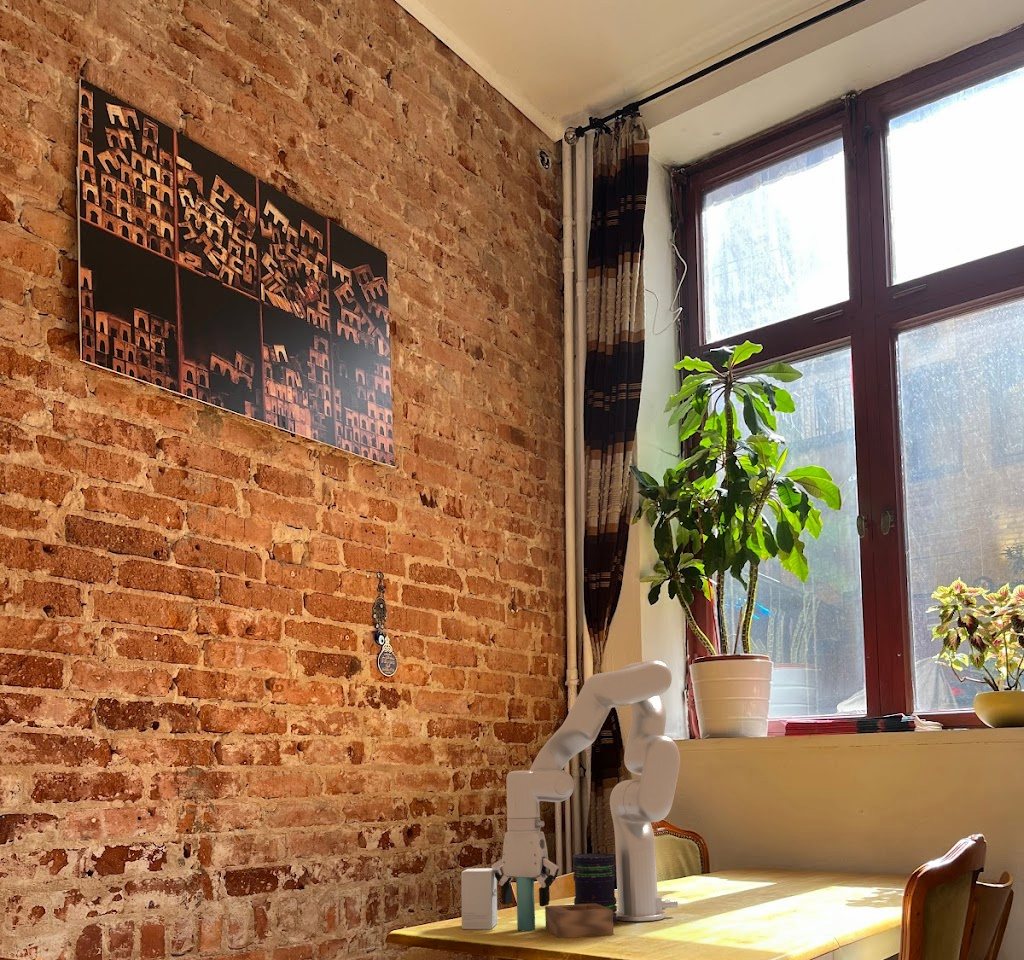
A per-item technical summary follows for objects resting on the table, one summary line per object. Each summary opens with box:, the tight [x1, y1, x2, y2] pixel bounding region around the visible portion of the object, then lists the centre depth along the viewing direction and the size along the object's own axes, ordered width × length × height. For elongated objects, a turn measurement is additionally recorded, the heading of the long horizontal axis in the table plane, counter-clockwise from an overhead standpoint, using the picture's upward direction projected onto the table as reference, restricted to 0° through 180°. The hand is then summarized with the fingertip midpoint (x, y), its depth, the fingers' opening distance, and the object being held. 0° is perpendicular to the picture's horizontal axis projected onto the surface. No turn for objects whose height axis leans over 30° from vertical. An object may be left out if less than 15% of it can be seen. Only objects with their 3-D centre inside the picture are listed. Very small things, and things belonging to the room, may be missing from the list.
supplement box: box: [460, 867, 498, 930], centre depth 261 cm, size 7×7×13 cm
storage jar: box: [572, 852, 618, 926], centre depth 263 cm, size 10×10×15 cm
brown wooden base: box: [544, 903, 615, 939], centre depth 250 cm, size 12×12×5 cm
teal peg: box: [515, 877, 536, 932], centre depth 256 cm, size 4×4×14 cm
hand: (525, 904), depth 256 cm, fingers open, 9 cm apart
